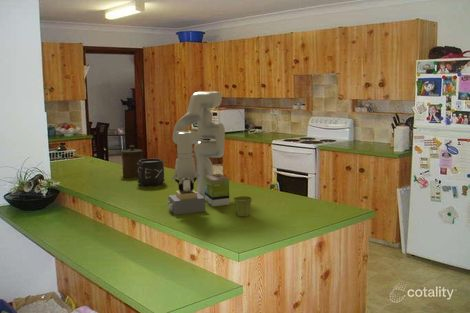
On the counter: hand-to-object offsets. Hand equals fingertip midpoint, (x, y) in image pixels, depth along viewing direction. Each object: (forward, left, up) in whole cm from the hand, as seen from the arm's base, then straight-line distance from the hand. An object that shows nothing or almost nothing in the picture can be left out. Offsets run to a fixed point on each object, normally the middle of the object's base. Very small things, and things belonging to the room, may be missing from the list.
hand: (186, 190), depth 260 cm
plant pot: (-23, +22, -11) cm, 34 cm away
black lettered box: (+5, -74, -11) cm, 75 cm away
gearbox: (0, 0, -10) cm, 10 cm away
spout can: (0, 0, -3) cm, 3 cm away
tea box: (-19, -8, -11) cm, 23 cm away
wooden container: (+11, -110, -11) cm, 111 cm away
